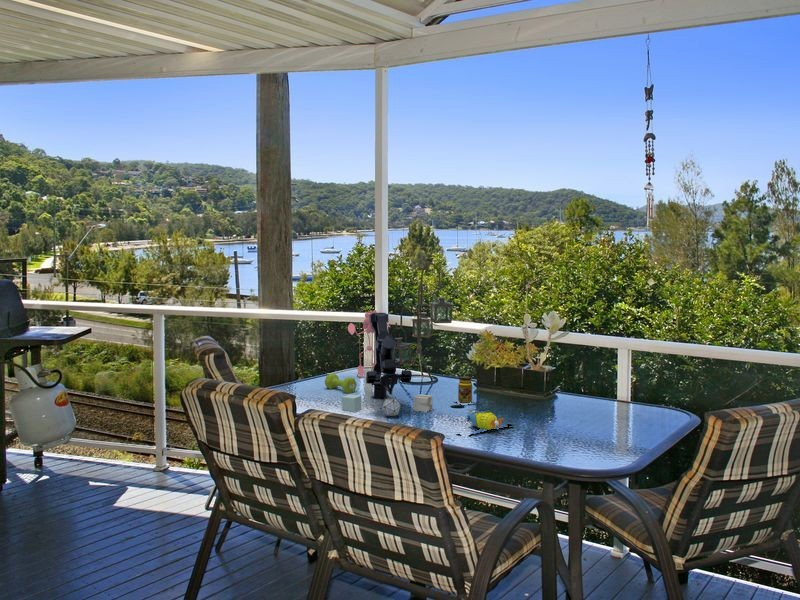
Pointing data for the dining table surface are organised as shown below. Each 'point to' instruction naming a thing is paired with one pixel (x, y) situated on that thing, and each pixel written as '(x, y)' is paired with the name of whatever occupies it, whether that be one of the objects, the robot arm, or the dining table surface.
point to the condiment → (465, 389)
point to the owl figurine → (484, 419)
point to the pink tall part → (368, 325)
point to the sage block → (351, 403)
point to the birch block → (423, 403)
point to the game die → (391, 407)
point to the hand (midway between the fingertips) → (390, 394)
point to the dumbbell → (340, 383)
